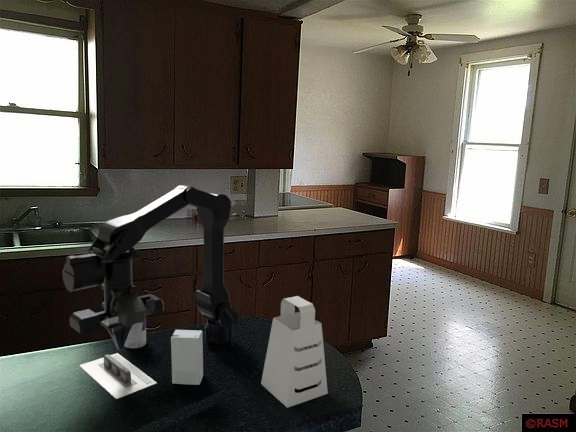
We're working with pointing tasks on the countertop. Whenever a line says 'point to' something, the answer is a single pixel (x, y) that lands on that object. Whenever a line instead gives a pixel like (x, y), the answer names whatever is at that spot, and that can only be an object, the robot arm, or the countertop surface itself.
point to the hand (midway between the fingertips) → (120, 349)
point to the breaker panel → (117, 377)
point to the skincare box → (187, 357)
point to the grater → (295, 354)
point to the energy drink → (136, 336)
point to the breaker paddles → (117, 368)
